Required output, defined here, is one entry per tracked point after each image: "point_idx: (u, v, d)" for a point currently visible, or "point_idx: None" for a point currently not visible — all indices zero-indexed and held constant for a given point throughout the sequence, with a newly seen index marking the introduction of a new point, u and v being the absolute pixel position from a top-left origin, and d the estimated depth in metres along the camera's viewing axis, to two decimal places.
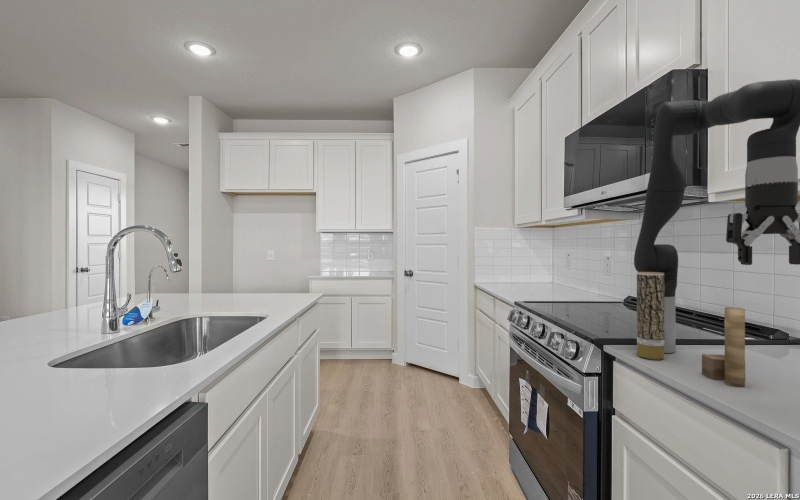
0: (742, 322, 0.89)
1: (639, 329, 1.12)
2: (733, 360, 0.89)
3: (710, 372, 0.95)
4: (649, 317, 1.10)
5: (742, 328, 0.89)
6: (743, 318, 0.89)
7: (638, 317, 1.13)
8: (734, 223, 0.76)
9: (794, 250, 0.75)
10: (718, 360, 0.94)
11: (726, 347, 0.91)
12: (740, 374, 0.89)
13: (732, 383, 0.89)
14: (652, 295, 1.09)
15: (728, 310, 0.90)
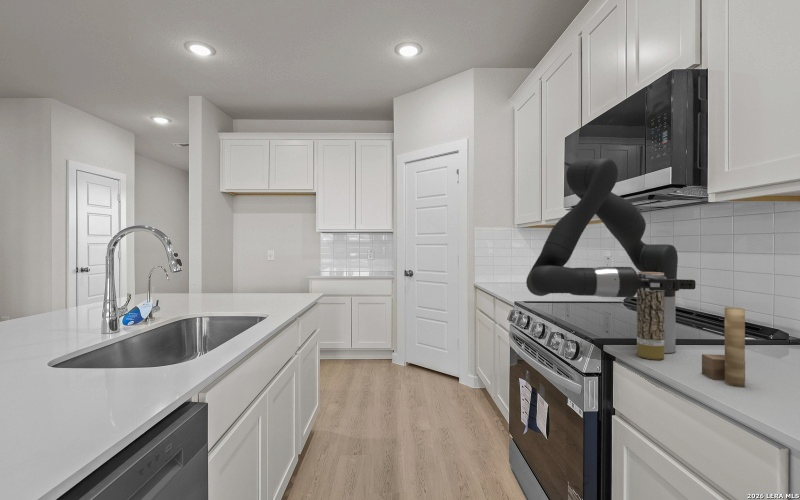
0: (742, 322, 0.89)
1: (639, 329, 1.12)
2: (733, 360, 0.89)
3: (710, 372, 0.95)
4: (649, 317, 1.10)
5: (742, 328, 0.89)
6: (743, 318, 0.89)
7: (638, 317, 1.13)
8: None
9: None
10: (718, 360, 0.94)
11: (726, 347, 0.91)
12: (740, 374, 0.89)
13: (732, 383, 0.89)
14: (652, 295, 1.09)
15: (728, 310, 0.90)
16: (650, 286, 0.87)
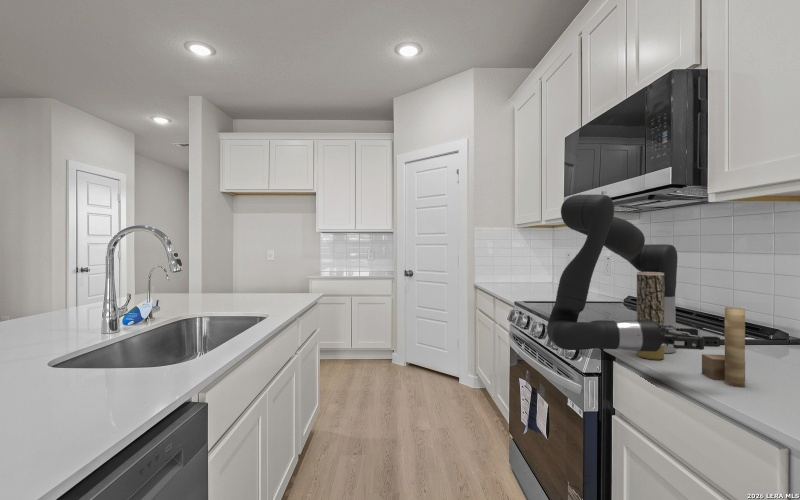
0: (742, 322, 0.89)
1: None
2: (733, 360, 0.89)
3: (710, 372, 0.95)
4: (649, 317, 1.10)
5: (742, 328, 0.89)
6: (743, 318, 0.89)
7: (638, 317, 1.13)
8: None
9: None
10: (718, 360, 0.94)
11: (726, 347, 0.91)
12: (740, 373, 0.89)
13: (732, 383, 0.89)
14: (652, 295, 1.09)
15: (728, 310, 0.90)
16: (674, 344, 0.87)
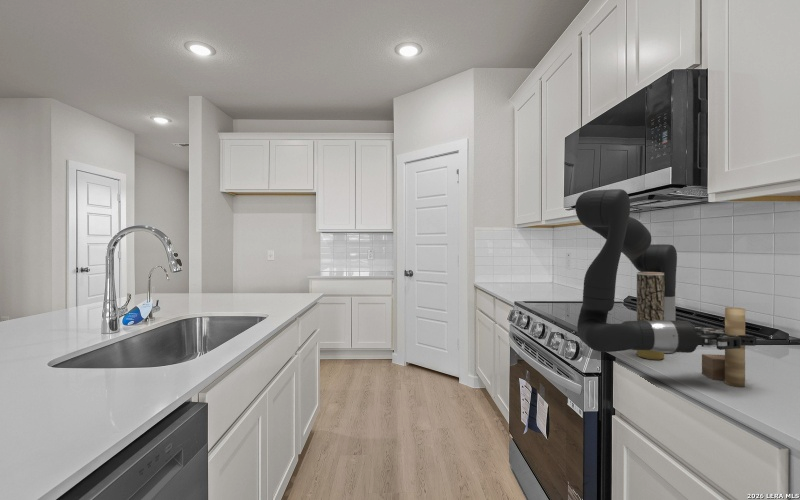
0: (742, 322, 0.89)
1: None
2: (733, 360, 0.89)
3: (710, 372, 0.95)
4: (649, 317, 1.10)
5: (742, 328, 0.89)
6: (743, 318, 0.89)
7: (638, 317, 1.13)
8: None
9: None
10: (718, 360, 0.94)
11: None
12: (740, 373, 0.89)
13: (732, 383, 0.89)
14: (652, 295, 1.09)
15: (728, 310, 0.90)
16: (719, 345, 0.85)
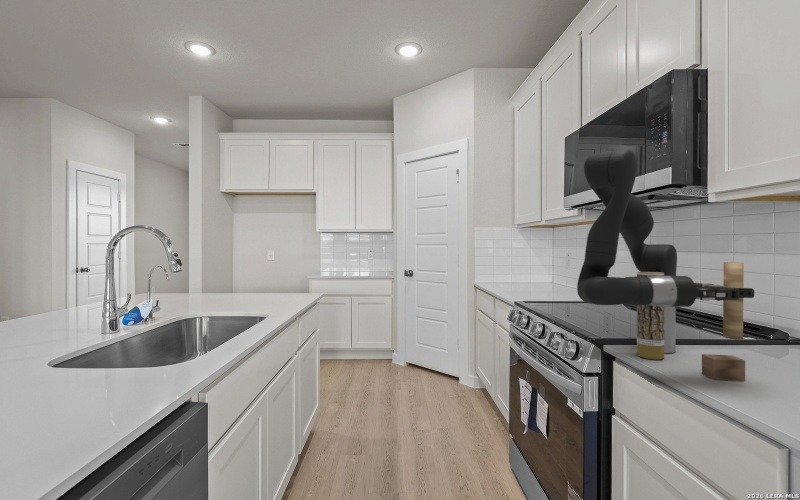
0: (740, 275, 0.89)
1: (639, 329, 1.12)
2: (731, 313, 0.90)
3: (710, 372, 0.95)
4: (649, 317, 1.10)
5: (741, 281, 0.89)
6: (742, 271, 0.89)
7: (638, 317, 1.13)
8: None
9: None
10: (718, 360, 0.94)
11: (725, 301, 0.91)
12: (738, 326, 0.89)
13: (730, 336, 0.90)
14: None
15: (727, 264, 0.91)
16: (717, 296, 0.86)
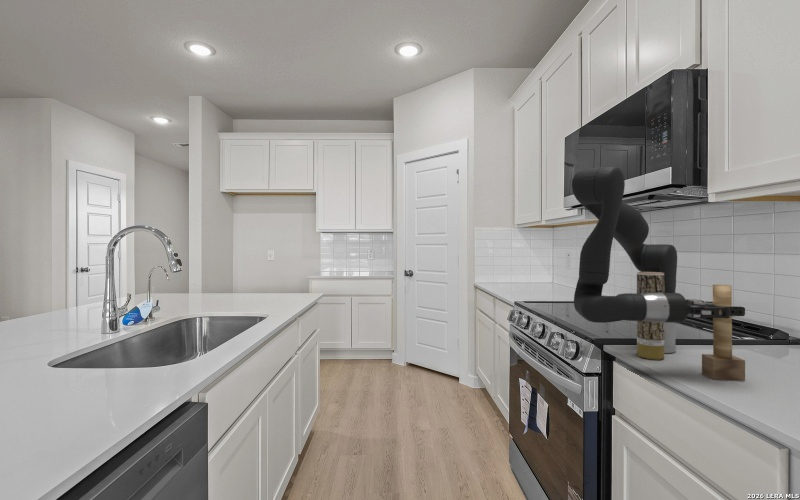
0: (729, 298, 0.93)
1: (639, 329, 1.12)
2: (721, 334, 0.94)
3: (710, 372, 0.95)
4: None
5: (729, 303, 0.93)
6: (730, 294, 0.93)
7: None
8: None
9: None
10: (718, 360, 0.94)
11: (714, 322, 0.95)
12: (727, 346, 0.93)
13: (720, 356, 0.94)
14: None
15: (716, 287, 0.95)
16: (702, 313, 0.90)
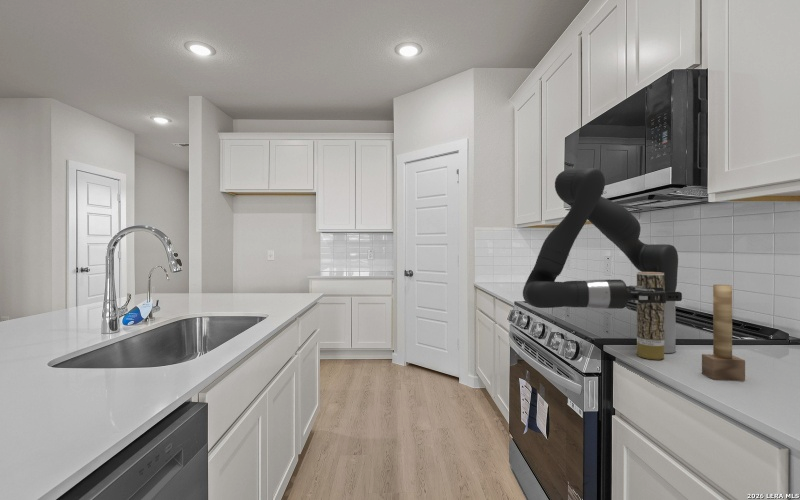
0: (729, 298, 0.93)
1: (639, 329, 1.12)
2: (721, 334, 0.94)
3: (710, 372, 0.95)
4: (649, 317, 1.10)
5: (729, 303, 0.93)
6: (730, 294, 0.93)
7: (638, 317, 1.13)
8: None
9: None
10: (718, 360, 0.94)
11: (714, 322, 0.95)
12: (727, 346, 0.93)
13: (720, 356, 0.94)
14: None
15: (716, 287, 0.95)
16: (639, 299, 0.92)
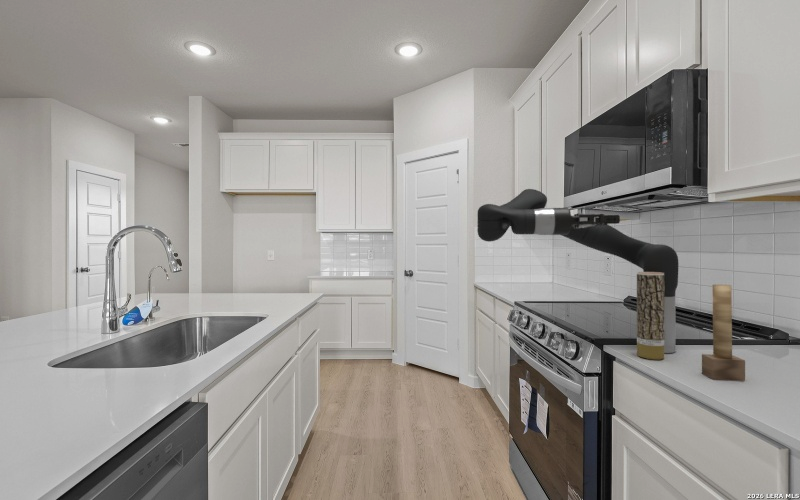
0: (728, 298, 0.93)
1: (639, 329, 1.12)
2: (720, 334, 0.94)
3: (710, 372, 0.95)
4: (649, 317, 1.10)
5: (729, 303, 0.94)
6: (730, 294, 0.94)
7: (638, 317, 1.13)
8: None
9: None
10: (718, 360, 0.94)
11: (714, 322, 0.95)
12: (727, 346, 0.94)
13: (720, 356, 0.94)
14: (652, 295, 1.09)
15: (715, 286, 0.95)
16: (579, 221, 0.99)
